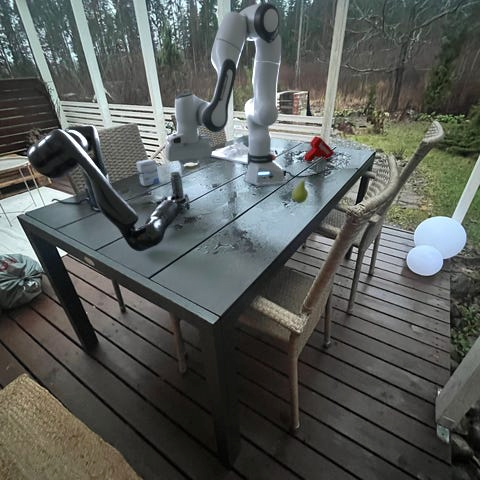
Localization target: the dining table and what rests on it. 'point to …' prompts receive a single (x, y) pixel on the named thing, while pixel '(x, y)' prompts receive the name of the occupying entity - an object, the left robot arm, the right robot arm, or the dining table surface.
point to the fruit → (300, 192)
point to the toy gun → (318, 150)
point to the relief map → (233, 153)
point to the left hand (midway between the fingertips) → (180, 195)
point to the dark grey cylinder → (177, 187)
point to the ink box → (147, 172)
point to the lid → (190, 166)
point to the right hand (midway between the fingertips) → (190, 168)
